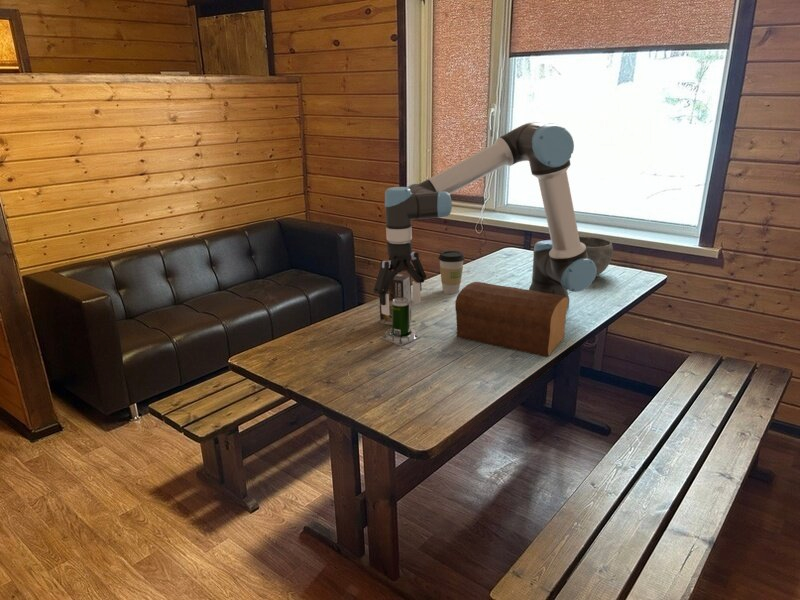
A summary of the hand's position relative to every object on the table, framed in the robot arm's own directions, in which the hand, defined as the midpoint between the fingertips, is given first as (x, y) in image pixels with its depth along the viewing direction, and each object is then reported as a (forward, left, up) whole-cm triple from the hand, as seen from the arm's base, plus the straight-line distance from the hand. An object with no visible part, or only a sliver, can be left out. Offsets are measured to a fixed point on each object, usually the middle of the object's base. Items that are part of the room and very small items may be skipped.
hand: (401, 308), depth 179 cm
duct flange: (0, 0, -10) cm, 10 cm away
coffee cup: (+17, -44, -10) cm, 48 cm away
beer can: (0, 0, -10) cm, 10 cm away
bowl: (-10, -95, -10) cm, 96 cm away
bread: (-25, -23, -10) cm, 35 cm away
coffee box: (+11, -8, -10) cm, 17 cm away
